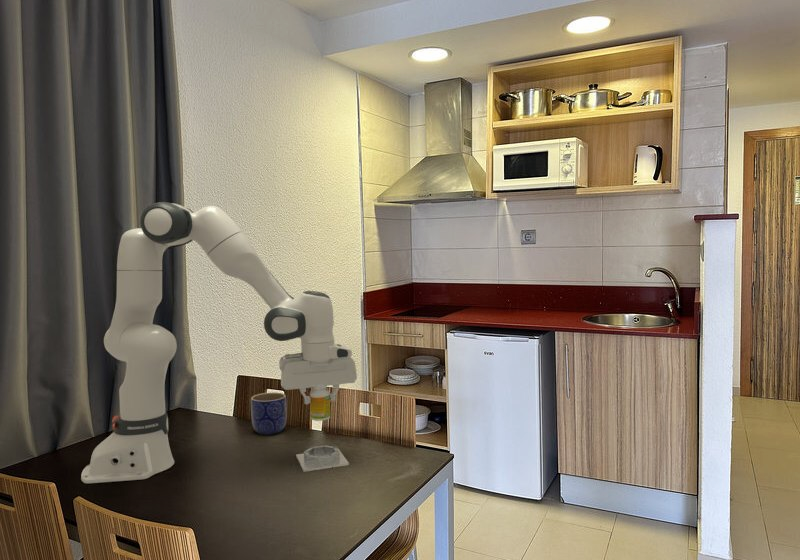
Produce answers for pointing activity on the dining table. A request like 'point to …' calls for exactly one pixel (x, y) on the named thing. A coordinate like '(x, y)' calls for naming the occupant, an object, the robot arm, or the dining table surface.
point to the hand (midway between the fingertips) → (320, 402)
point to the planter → (268, 412)
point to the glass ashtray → (321, 458)
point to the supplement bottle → (320, 403)
